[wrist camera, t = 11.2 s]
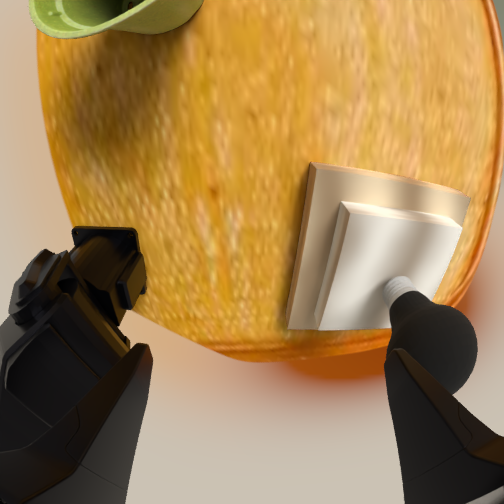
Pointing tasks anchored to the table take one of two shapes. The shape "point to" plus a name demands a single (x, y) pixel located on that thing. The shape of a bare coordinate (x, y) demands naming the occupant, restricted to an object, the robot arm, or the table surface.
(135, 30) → the plant pot
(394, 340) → the light bulb
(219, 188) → the table surface
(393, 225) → the stepped stand
